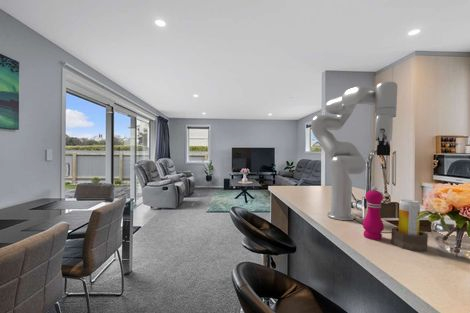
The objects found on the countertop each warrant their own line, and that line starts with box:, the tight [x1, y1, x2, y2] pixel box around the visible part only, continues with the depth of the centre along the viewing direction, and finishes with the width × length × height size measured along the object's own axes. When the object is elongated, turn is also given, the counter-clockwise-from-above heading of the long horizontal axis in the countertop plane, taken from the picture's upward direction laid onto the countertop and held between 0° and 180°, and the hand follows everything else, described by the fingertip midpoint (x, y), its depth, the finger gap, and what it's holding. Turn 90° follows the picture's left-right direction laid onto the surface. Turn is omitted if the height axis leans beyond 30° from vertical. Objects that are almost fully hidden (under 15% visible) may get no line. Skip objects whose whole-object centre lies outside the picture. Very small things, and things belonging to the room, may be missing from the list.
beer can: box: [397, 199, 421, 236], centre depth 87 cm, size 6×6×15 cm
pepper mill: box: [362, 186, 384, 241], centre depth 94 cm, size 7×7×20 cm
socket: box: [390, 226, 429, 252], centre depth 87 cm, size 10×10×5 cm
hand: (383, 155), depth 98 cm, fingers open, 9 cm apart
